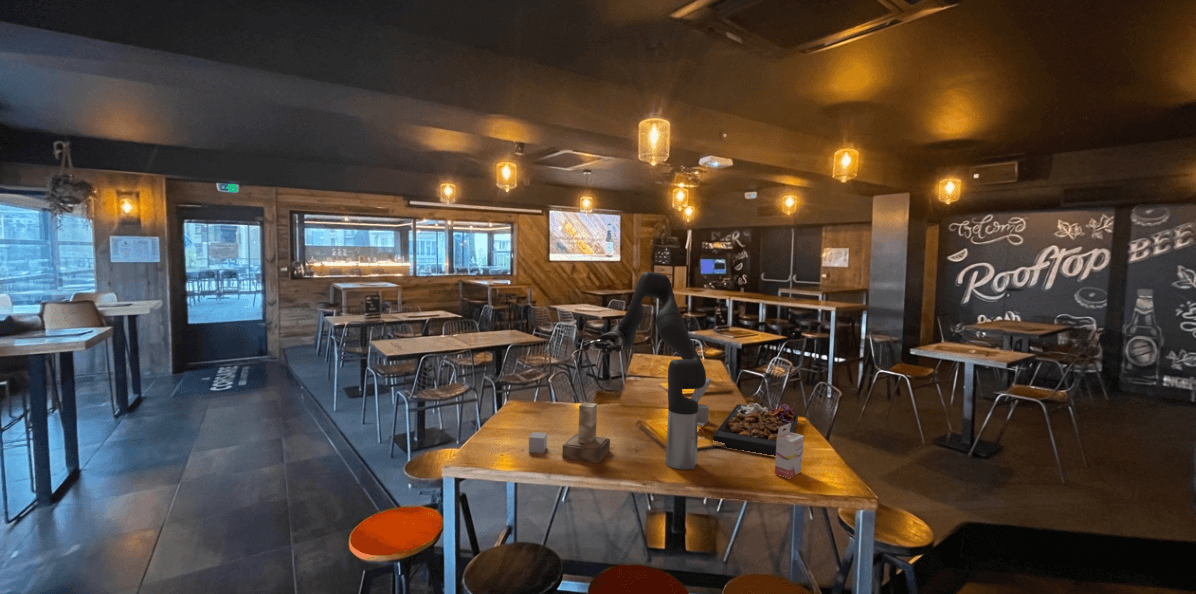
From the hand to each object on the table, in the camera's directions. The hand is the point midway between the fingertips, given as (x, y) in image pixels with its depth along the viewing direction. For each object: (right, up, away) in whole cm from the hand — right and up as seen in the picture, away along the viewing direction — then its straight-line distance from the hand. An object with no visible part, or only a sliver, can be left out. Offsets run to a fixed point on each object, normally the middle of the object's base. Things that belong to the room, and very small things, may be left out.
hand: (596, 348), depth 181 cm
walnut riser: (-3, -33, -13) cm, 36 cm away
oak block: (-3, -29, -13) cm, 32 cm away
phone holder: (+37, -32, +22) cm, 54 cm away
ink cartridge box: (+59, -36, -23) cm, 73 cm away
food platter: (+61, -34, +14) cm, 71 cm away
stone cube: (-19, -32, -11) cm, 39 cm away
